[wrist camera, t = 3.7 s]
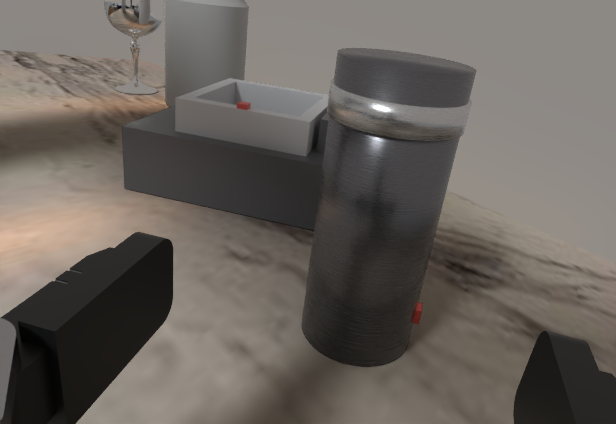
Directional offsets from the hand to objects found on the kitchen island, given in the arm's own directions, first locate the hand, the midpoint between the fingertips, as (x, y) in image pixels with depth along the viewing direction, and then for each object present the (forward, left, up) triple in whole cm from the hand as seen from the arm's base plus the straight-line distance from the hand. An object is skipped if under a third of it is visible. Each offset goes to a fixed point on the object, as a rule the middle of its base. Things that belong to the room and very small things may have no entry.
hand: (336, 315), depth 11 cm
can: (-20, +36, -7) cm, 42 cm away
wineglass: (-30, +40, -7) cm, 51 cm away
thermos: (0, +8, -7) cm, 11 cm away
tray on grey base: (-9, +21, -7) cm, 24 cm away
